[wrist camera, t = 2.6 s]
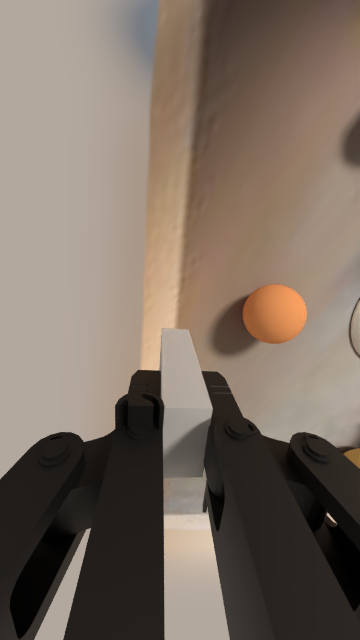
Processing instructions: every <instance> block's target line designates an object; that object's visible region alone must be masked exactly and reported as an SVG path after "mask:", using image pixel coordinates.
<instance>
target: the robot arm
mask: <svg viewBox="0 0 360 640" xmlns="http://www.w3.org/2000/svg"><path fill="white" fill-rule="evenodd" d="M115 422H116V423H115V425H116V426H115V430H114V431H112V432H111V433H110V434H108V435H106V436H104V437H101V438H98V439H95V440H91V441H87V442H83V440H82V439H81V438H80V436H78V435H76V434H74V433H71V432H60V433H56V434H52V435H49V436H47V437H45V438H43V439H41V440H39V441H38V442H37V443H36V444H34V445H33V446H32V447H31V448H30V449H29V450H28V451H27V452H26V453H25V454H24V455H23V456H22V457H21V458H20V459H19V460H18V461H17V462H16V463H15V465H14V466H13V467H12V468H11V469H10V470H9V471H8V472H7V473H6V474H5V475H4V476H3V477H2V478H1V479H0V640H34V639H35V636H36V634H37V632H38V630H39V628H40V626H41V624H42V622H43V620H44V617H45V615H46V613H47V611H48V609H49V607H50V605H51V603H52V601H53V599H54V596H55V594H56V592H57V590H58V588H59V586H60V584H61V581H62V580H63V577H64V575H65V573H66V571H67V569H68V567H69V565H70V563H71V561H72V558H73V556H74V554H75V552H76V550H77V548H78V546H79V544H80V542H81V539H82V537H83V535H84V533H85V531H86V529H89V528H91V531H90V535H89V539H88V543H87V547H86V551H85V555H84V559H83V563H82V567H81V571H80V575H79V579H78V583H77V587H76V591H75V595H74V599H73V603H72V607H71V611H70V615H69V619H68V623H67V627H66V631H65V635H64V639H63V640H164V511H163V477H203V470H204V467H205V472H206V477H207V481H206V488H205V494H204V500H203V512H206V510H207V507H208V513H209V519H210V525H211V531H212V537H213V542H214V548H215V554H216V560H217V566H218V572H219V578H220V584H221V589H222V595H223V601H224V606H225V613H226V619H227V625H228V631H229V636H230V640H360V469H359V468H358V467H357V466H356V465H355V464H354V463H353V462H352V461H350V460H349V459H348V458H347V457H346V456H345V455H344V454H343V453H341V452H340V451H339V450H338V449H337V448H336V447H335V446H333V445H332V444H331V443H329V442H328V441H327V440H325V439H323V438H321V437H319V436H317V435H314V434H310V433H306V432H302V433H296V434H294V435H292V438H291V440H290V443H287V442H283V441H279V440H275V439H272V438H269V437H266V436H263V435H261V433H260V431H259V430H258V428H257V427H256V426H255V424H253V423H252V422H251V421H249V420H248V419H246V418H243V416H242V414H241V411H240V409H239V407H238V405H237V403H236V401H235V399H234V397H233V394H231V390H230V388H229V387H228V384H227V382H226V380H225V378H224V377H223V376H222V375H221V374H219V373H218V372H210V371H201V369H200V366H199V362H198V359H197V356H196V353H195V349H194V346H193V343H192V340H191V336H190V333H189V330H187V329H167V328H162V336H161V352H160V369H159V371H153V370H138V371H137V372H136V373H135V374H134V375H133V376H132V378H131V382H130V386H129V391H128V394H126V395H125V396H123V397H122V398H120V399H119V400H118V402H117V404H116V405H115ZM327 512H328V513H329V514H330V516H331V517H332V518H333V519H334V520H335V522H336V523H337V524H336V523H334V522H333V521H332V520H331V519H330V518H329V517H328V516H327V515H326V514H327Z"/></svg>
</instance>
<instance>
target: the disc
mask: <svg viewBox="0 0 360 640" xmlns="http://www.w3.org/2000/svg"><path fill="white" fill-rule="evenodd" d="M351 339H352V343H353V346H354V348H355V350H356V351H357V353H358V354H359V355H360V300H359V302H358V303H357V305H356V308H355V310H354V313H353V317H352V321H351Z"/></svg>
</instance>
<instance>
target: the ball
mask: <svg viewBox="0 0 360 640" xmlns="http://www.w3.org/2000/svg"><path fill="white" fill-rule="evenodd" d="M306 317H307V310H306V306H305V303H304V301H303V299H302V298H301V296H300V295H299V294H298V293H297V292H296V291H294V290H293V289H291V288H289V287H287V286H283V285H267V286H263V287H261V288H259V289H257V290H256V291H254V292H253V293H252V294H251V295H250V296H249V297H248V299H247V300H246V302H245V305H244V308H243V321H244V324H245V326H246V328H247V330H248V331H249V333H250V334H251V335H252V336H254V337H255V338H256V339H258V340H260V341H262V342H266V343H271V344H278V343H283V342H286V341H289V340H291V339H293V338H294V337H295V336H297V335H298V334H299V333H300V331H301V330H302V328H303V327H304V325H305V322H306Z"/></svg>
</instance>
